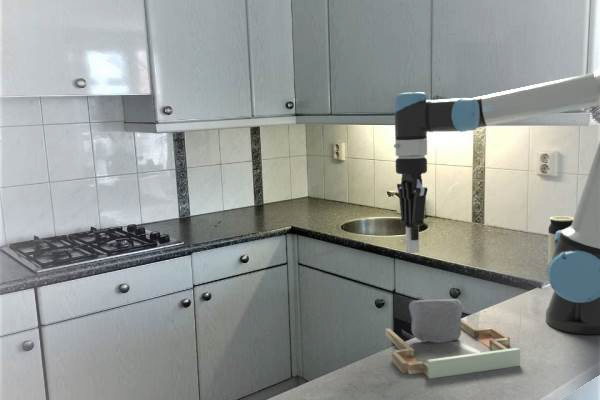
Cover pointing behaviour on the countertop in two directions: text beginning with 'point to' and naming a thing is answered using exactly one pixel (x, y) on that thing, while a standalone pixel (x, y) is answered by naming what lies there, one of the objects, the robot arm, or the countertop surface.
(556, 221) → the travel mug
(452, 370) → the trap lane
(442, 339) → the stone block
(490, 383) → the countertop surface
